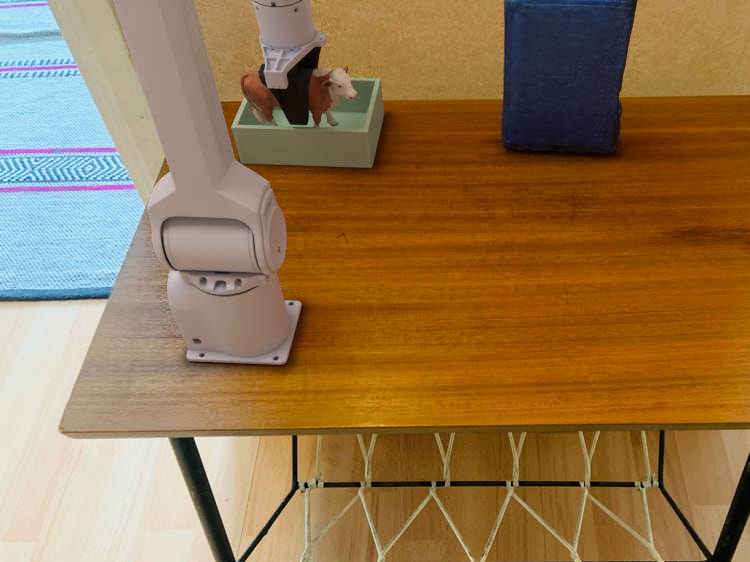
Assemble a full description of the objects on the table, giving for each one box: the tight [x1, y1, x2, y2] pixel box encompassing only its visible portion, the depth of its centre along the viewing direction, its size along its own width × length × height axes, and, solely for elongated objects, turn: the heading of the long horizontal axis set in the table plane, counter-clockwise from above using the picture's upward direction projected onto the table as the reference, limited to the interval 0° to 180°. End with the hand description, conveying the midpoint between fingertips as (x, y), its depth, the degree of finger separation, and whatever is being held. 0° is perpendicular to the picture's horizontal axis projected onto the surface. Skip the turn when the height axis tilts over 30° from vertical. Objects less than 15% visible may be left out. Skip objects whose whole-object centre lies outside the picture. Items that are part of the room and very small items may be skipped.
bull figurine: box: [240, 65, 357, 127], centre depth 88 cm, size 4×13×8 cm, turn 83°
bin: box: [230, 77, 385, 169], centre depth 94 cm, size 16×11×5 cm
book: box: [500, 0, 639, 154], centre depth 87 cm, size 14×5×20 cm, turn 86°
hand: (303, 111), depth 89 cm, fingers closed on bull figurine, 4 cm apart
